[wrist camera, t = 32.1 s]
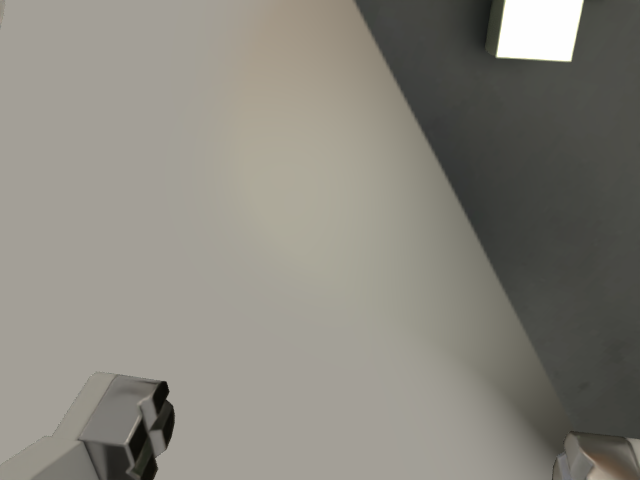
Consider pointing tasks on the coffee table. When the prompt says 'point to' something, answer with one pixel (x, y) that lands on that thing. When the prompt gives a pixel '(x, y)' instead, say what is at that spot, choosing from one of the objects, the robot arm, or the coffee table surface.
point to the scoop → (533, 29)
